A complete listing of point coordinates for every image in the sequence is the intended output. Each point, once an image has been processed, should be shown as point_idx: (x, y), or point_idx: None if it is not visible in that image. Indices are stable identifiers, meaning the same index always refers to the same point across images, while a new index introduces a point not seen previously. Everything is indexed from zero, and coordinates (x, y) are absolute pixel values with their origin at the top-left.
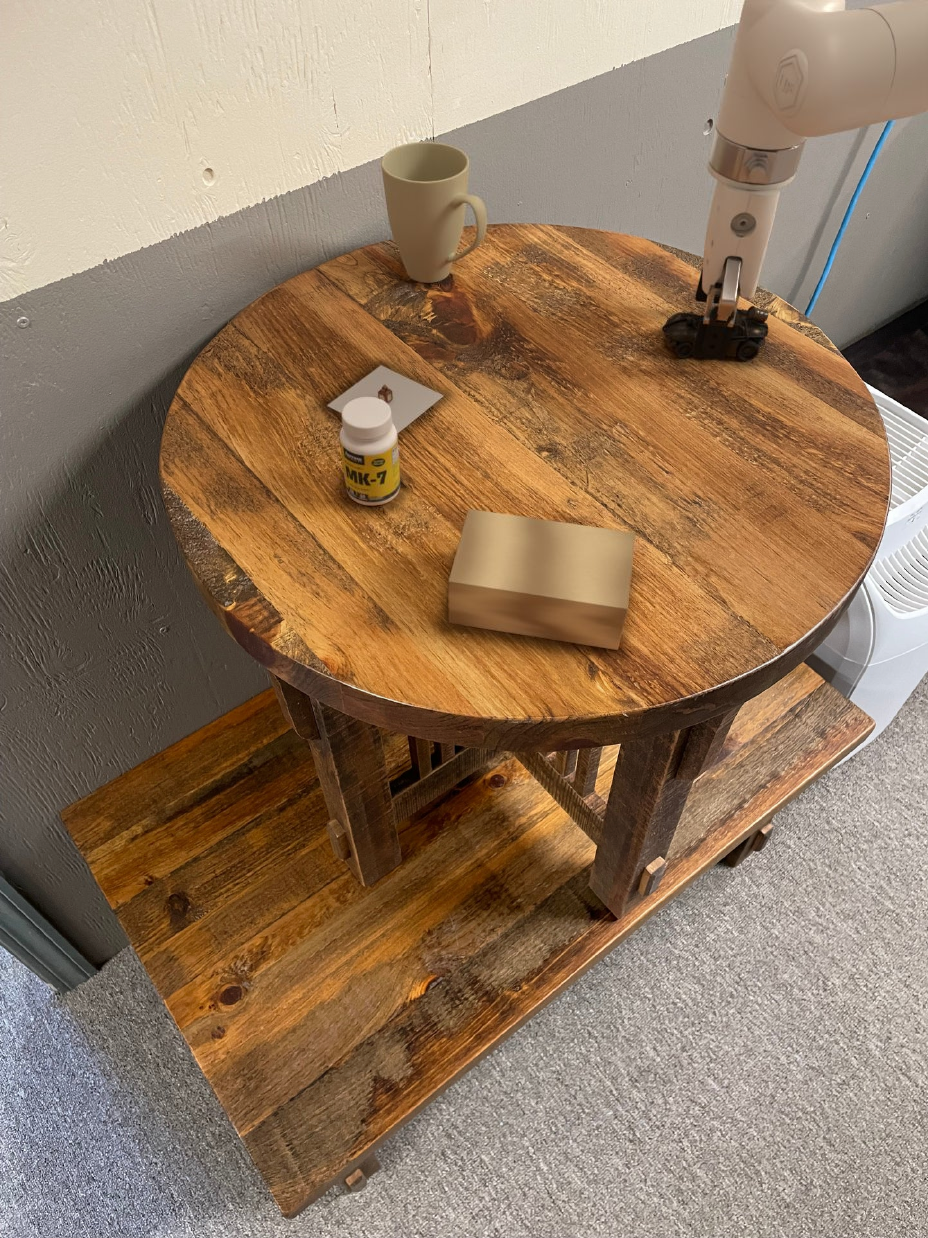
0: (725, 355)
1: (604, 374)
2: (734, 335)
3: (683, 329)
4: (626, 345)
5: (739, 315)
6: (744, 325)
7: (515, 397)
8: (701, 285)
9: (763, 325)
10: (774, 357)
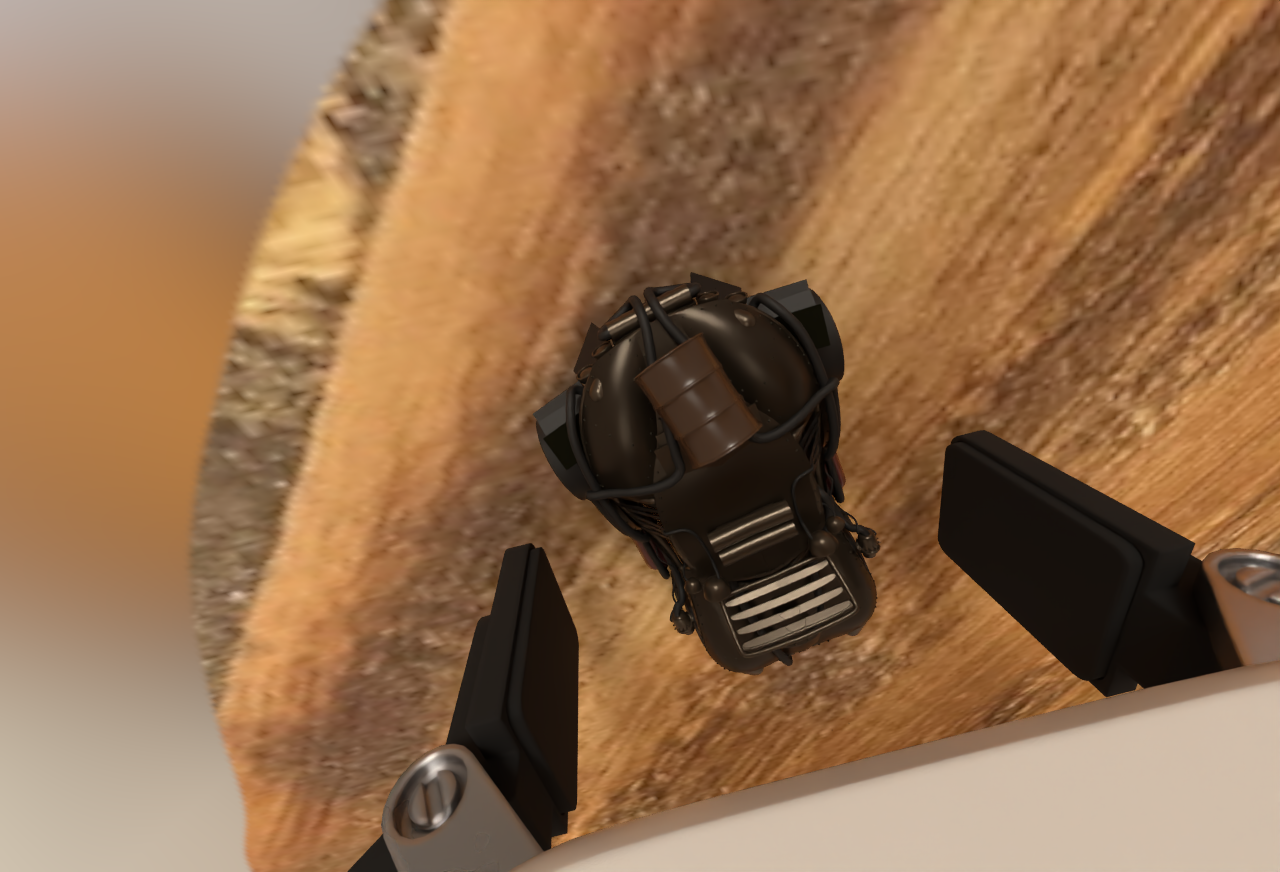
0: (993, 435)
1: (957, 665)
2: (819, 441)
3: (846, 624)
4: (810, 670)
5: (708, 479)
6: (786, 431)
7: None
8: (575, 701)
9: (682, 329)
10: (722, 196)
